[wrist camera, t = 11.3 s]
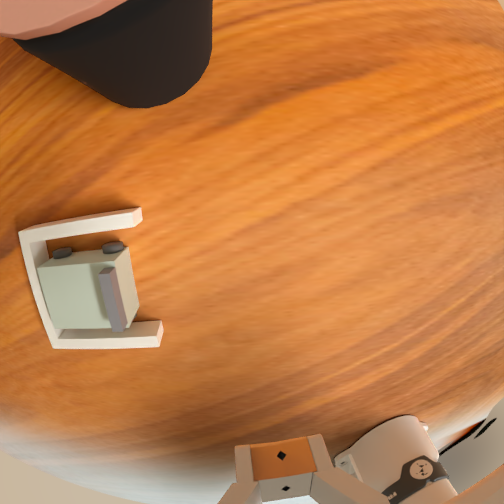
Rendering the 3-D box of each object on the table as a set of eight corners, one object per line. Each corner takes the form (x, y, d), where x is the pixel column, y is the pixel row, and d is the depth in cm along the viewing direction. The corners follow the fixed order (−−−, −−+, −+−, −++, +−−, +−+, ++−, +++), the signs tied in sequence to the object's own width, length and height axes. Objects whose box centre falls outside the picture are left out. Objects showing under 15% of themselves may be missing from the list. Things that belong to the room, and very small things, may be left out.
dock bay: (163, 330, 28) (159, 346, 26) (63, 334, 27) (53, 348, 24) (140, 207, 25) (132, 212, 22) (33, 225, 24) (18, 231, 21)
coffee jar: (105, 21, 19) (22, -82, 2) (213, 8, 20) (223, -133, 3) (95, 118, 22) (-47, 74, 5) (210, 107, 23) (208, -4, 6)
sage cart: (141, 310, 28) (126, 342, 22) (73, 313, 27) (50, 342, 21) (127, 239, 26) (106, 259, 20) (57, 247, 25) (26, 266, 19)
